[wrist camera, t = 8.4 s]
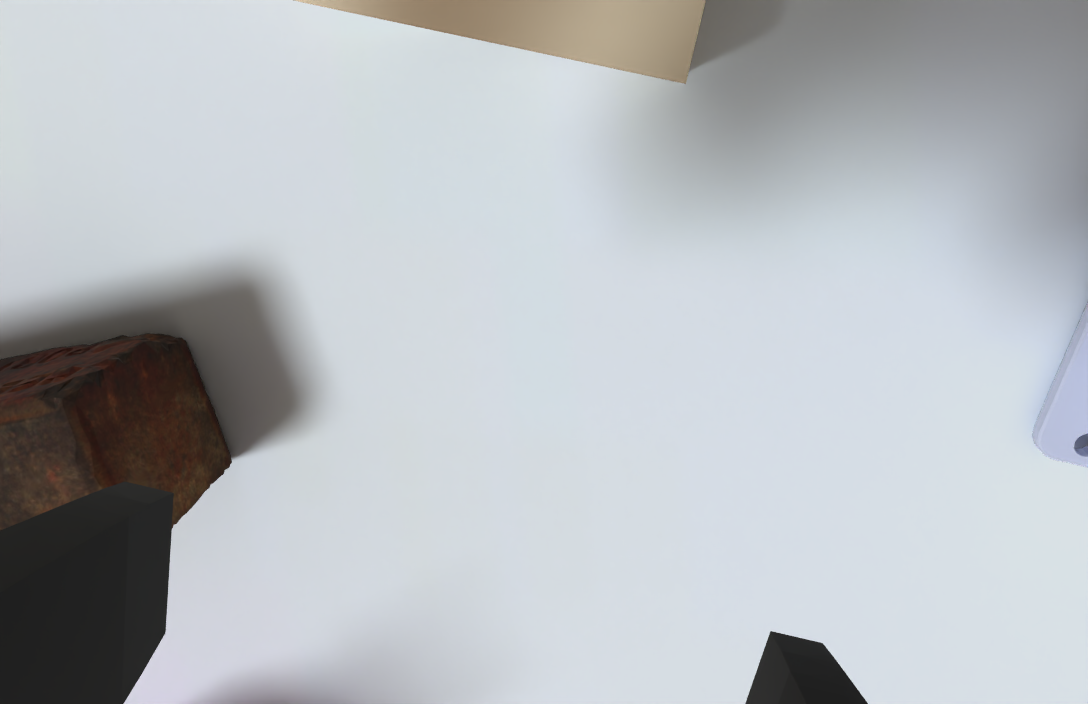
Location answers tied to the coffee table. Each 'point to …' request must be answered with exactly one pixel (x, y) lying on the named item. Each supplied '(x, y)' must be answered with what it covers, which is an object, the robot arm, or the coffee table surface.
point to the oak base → (561, 27)
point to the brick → (105, 425)
